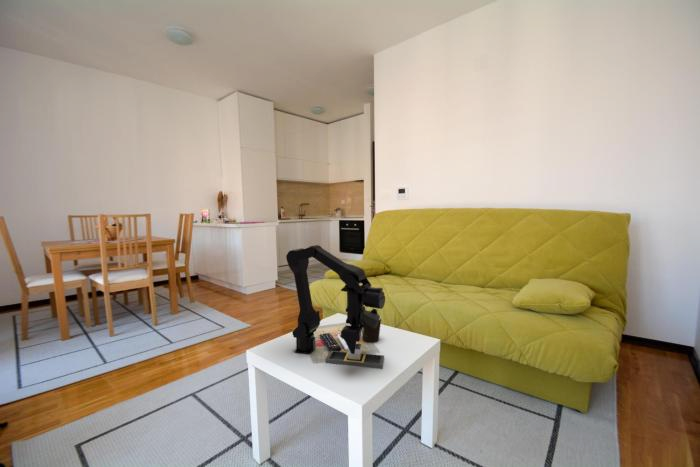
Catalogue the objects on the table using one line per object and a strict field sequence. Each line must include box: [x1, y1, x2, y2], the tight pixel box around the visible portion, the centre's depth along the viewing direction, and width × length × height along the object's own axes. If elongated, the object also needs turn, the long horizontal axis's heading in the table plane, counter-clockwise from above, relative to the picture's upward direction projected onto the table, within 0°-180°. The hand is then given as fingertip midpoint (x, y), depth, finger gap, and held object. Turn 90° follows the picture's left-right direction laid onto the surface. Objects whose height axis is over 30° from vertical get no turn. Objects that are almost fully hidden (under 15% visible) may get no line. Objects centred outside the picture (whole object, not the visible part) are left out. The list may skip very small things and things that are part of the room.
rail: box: [325, 350, 385, 370], centre depth 105 cm, size 20×6×2 cm, turn 78°
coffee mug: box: [361, 314, 382, 344], centre depth 124 cm, size 12×9×10 cm
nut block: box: [347, 343, 363, 361], centre depth 105 cm, size 4×4×6 cm
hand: (355, 347), depth 105 cm, fingers open, 9 cm apart
